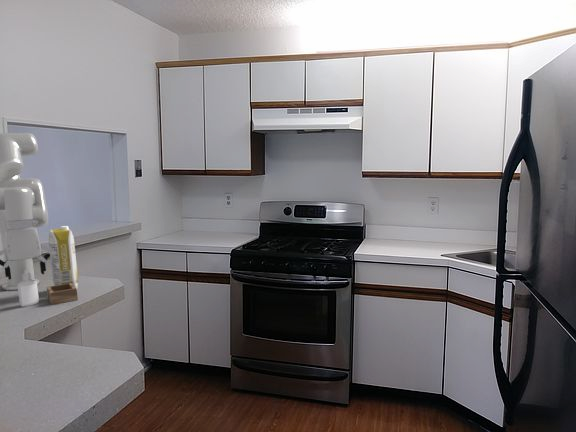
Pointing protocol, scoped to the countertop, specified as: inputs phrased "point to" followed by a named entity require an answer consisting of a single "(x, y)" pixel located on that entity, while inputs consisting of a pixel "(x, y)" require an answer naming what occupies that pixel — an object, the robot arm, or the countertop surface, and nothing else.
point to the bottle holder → (62, 293)
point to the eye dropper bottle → (27, 290)
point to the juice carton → (63, 256)
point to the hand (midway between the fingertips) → (26, 276)
